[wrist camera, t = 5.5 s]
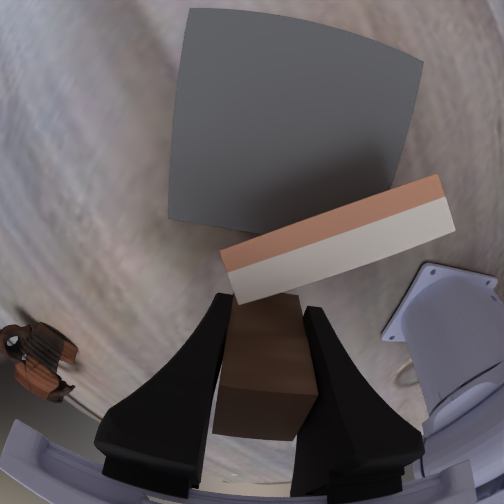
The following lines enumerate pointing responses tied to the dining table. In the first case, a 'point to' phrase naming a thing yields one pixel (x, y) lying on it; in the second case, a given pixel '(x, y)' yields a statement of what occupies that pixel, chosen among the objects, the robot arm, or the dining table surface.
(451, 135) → the dining table surface
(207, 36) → the mat
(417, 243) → the whetstone
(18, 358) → the pottery mug
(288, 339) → the walnut block
